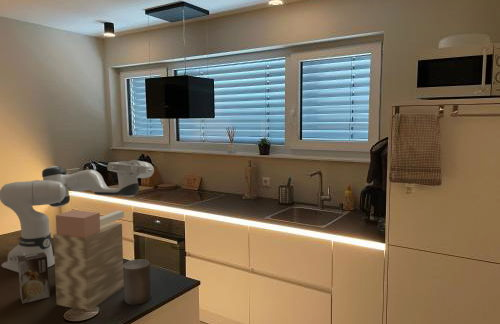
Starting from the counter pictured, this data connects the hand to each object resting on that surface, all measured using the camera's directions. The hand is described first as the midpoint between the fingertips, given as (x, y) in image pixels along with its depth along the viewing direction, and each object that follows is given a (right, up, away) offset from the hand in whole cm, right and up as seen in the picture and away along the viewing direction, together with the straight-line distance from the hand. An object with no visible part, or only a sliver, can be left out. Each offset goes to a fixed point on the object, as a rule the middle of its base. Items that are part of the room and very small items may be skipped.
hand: (120, 167), depth 175 cm
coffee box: (-20, -49, -34) cm, 63 cm away
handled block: (+2, -22, -30) cm, 38 cm away
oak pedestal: (0, -48, -32) cm, 58 cm away
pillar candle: (+18, -49, -35) cm, 63 cm away
